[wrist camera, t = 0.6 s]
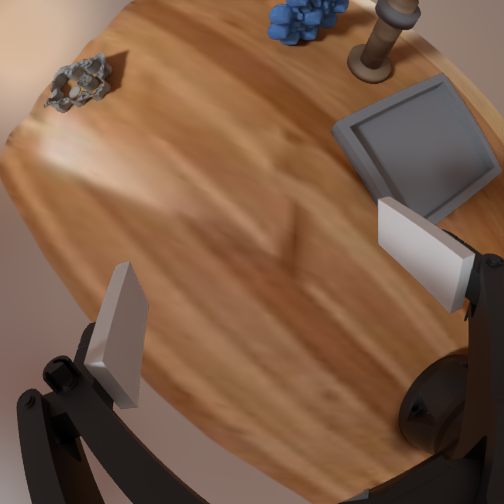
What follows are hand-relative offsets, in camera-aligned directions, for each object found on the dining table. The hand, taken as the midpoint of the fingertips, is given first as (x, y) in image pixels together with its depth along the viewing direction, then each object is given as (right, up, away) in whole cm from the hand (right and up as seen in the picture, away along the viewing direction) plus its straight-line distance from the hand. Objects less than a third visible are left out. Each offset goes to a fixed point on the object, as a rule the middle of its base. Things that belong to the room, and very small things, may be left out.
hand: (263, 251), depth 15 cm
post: (+15, +25, +19) cm, 35 cm away
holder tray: (+22, +13, +19) cm, 32 cm away
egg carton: (-26, +25, +22) cm, 42 cm away
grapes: (+6, +31, +20) cm, 37 cm away
